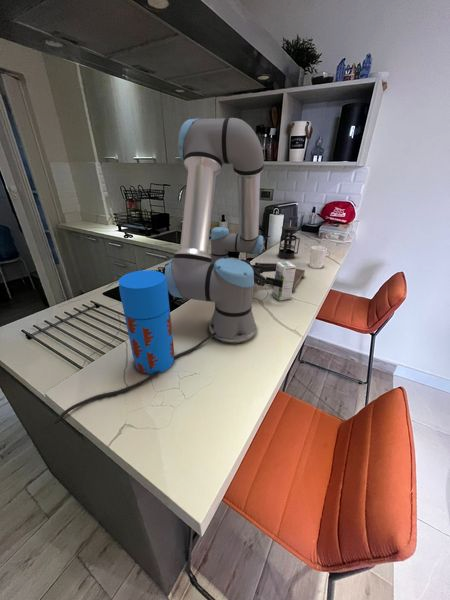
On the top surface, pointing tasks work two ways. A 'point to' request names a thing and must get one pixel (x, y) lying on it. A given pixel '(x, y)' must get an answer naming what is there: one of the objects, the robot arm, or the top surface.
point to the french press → (286, 251)
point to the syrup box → (284, 280)
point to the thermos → (148, 319)
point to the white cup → (317, 256)
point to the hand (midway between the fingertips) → (287, 277)
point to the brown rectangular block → (297, 277)
